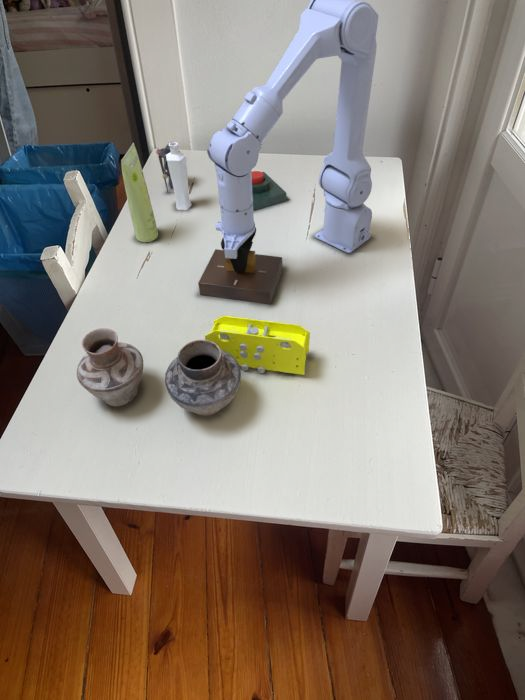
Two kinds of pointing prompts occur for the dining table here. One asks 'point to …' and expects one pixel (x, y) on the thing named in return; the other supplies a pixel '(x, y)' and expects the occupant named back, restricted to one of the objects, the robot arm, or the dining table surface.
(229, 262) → the wooden block
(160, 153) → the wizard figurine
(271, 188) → the box
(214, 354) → the twin painted vases
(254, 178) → the button
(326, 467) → the dining table surface
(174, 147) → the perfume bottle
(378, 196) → the dining table surface
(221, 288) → the knob panel
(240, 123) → the robot arm
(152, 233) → the tube
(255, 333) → the yellow toy chassis
